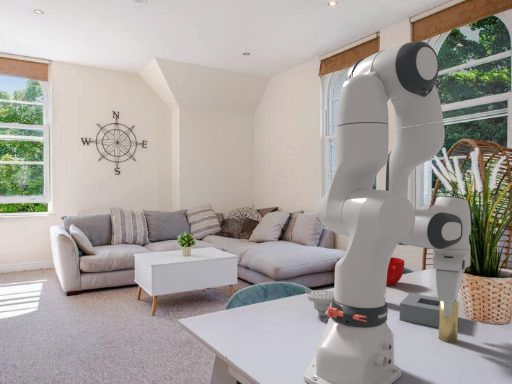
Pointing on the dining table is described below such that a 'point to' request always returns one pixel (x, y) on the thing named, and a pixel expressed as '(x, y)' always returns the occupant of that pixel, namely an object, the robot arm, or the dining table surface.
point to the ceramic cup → (394, 270)
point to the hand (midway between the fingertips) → (450, 310)
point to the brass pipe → (448, 324)
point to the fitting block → (420, 309)
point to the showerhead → (320, 300)
